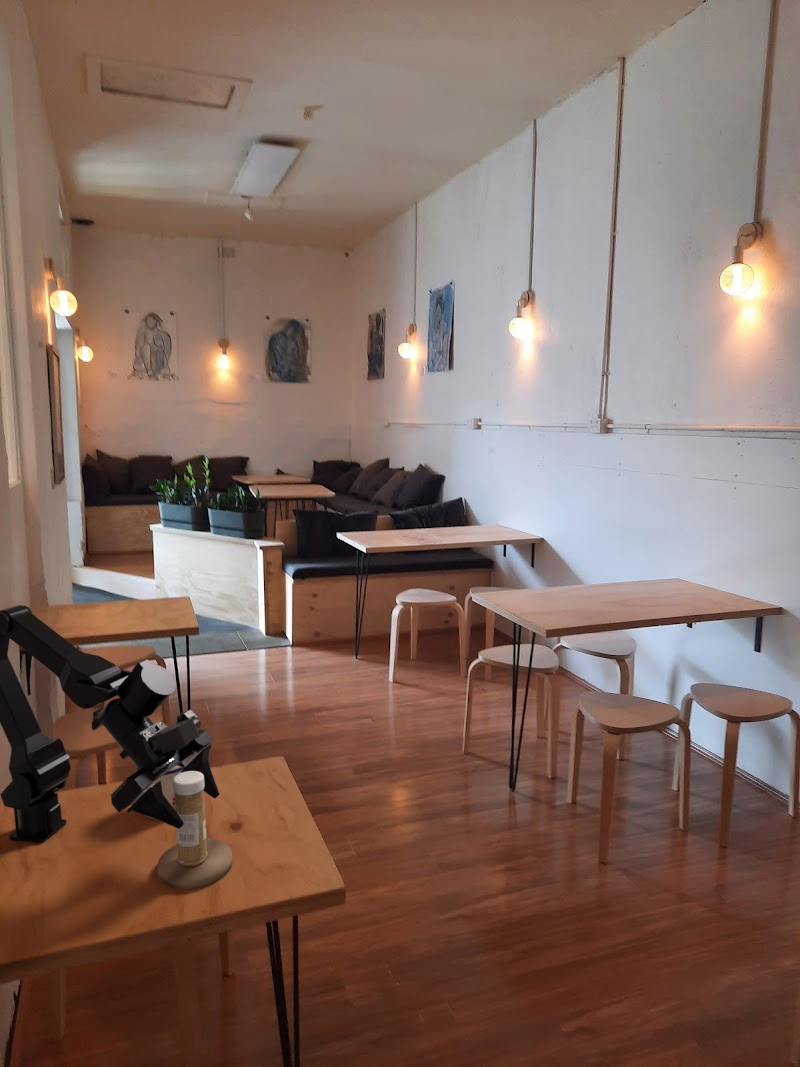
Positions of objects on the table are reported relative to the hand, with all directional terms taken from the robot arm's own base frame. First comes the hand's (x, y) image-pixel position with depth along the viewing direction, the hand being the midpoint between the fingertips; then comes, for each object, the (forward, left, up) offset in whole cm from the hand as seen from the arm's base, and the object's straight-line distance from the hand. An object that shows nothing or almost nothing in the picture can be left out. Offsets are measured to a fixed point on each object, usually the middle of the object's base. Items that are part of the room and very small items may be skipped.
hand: (200, 811), depth 114 cm
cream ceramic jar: (-15, +17, -10) cm, 25 cm away
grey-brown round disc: (-1, 0, -10) cm, 10 cm away
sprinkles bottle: (-2, 0, -8) cm, 8 cm away
